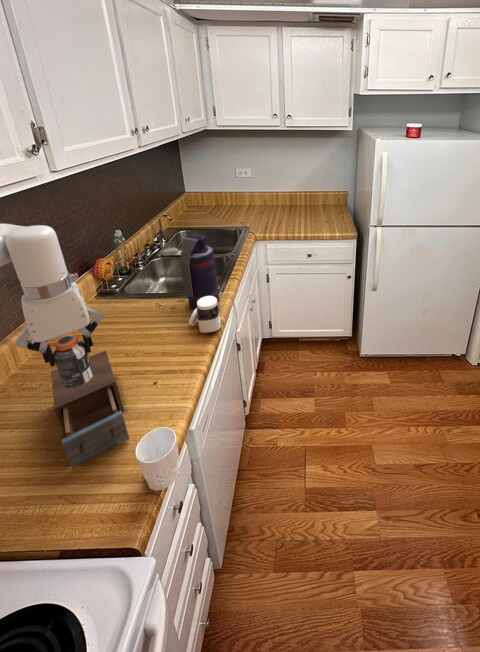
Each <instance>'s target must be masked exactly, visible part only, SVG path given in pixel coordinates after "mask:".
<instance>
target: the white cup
mask: <svg viewBox="0 0 480 652" xmlns="http://www.w3.org/2000/svg"><path fill="white" fill-rule="evenodd" d="M134 451H135V457H136V460H137V463H138V465H139V469H140V471H141V474H142V475H143V478H144V480H145V482H146V484H147V486H148V488H149V489H150V490H152V491H155V492H158V491H163V490H165V489H167V488H169V487H171V486H172V485H173V483H175V481H176V480H177V479H178V477H179V474H180V457H179V448H178V441H177V435H176V432H175V431H174V430H173V428H170V427H167V426H160V427H157V428H154V429H152V430H150V431H148V432H147V433H146V434H144V435H143V436H142V438H140V440H139V441H138V442H137V444H136V447H135V450H134Z"/></svg>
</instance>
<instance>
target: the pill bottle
mask: <svg viewBox="0 0 480 652" xmlns="http://www.w3.org/2000/svg"><path fill="white" fill-rule="evenodd" d="M54 346H55V349H54V351H53V358H54V361H55V367H56V369H57V370H58V373H59V375H60V378H61V381H62V383H63V386H64V387H66V388H77V387H80V386H82V385H84V384H85V383H87V382H88V381H89V380H90V379H91V378H92V377H93V374H94V371H93V368H92V365H91V362H90V358H89V357H90V355H89V353H87V350H86V347H85V344H84V341H82V340H80V339H79V338H78V336H77V335H76V334H74V333H68V334H64V335H62V336H60V337H59V338H58V339H57V340H55V342H54Z"/></svg>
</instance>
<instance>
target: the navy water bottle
mask: <svg viewBox="0 0 480 652" xmlns="http://www.w3.org/2000/svg"><path fill="white" fill-rule="evenodd" d="M181 244H182V245H181ZM180 246H181V248H180ZM178 249H179V250H180V251H181V252H180V260H179V261H180V265H179V266H180V269H181V270H180V271H181V279H182V286H183V291H184V296H186V297H187V300H188V306H189V307H190V309H191V308H192V309H194V310H195V309H196V308H197V301H198V300H199V299H200V298H202V297H205V296H214V297H216V298H217V303H218V304H219V301H220V295H219V285H218V278H217V269H216V268H217V267H216V261H215V252H214V248H213V247H212V246H210V245H208V244H207V236H205V235H200V234H195V233H193V234H189V235H185V237H183V238H182V240H181V241H180V242H179V244H178Z"/></svg>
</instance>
